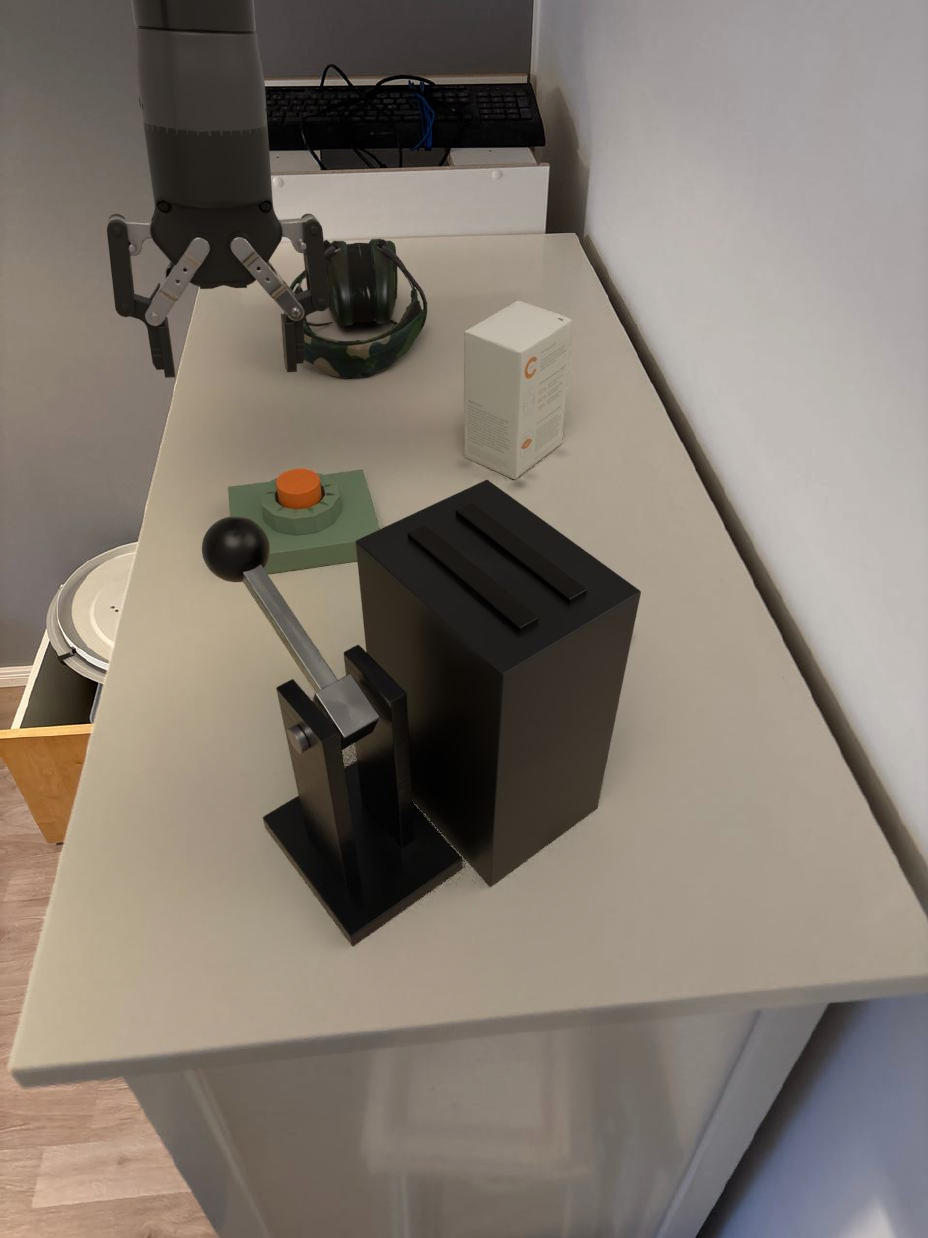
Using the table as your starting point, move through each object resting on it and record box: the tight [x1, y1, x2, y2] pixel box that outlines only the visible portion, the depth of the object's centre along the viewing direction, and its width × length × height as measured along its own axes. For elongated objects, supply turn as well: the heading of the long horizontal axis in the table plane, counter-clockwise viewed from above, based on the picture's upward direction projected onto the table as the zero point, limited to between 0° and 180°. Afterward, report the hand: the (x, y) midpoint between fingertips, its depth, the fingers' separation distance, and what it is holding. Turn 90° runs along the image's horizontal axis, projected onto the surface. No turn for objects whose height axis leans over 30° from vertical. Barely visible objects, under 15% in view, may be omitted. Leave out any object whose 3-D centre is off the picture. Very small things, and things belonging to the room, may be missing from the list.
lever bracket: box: [262, 644, 463, 947], centre depth 50 cm, size 10×8×15 cm
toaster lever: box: [201, 516, 380, 751], centre depth 47 cm, size 14×4×4 cm, turn 39°
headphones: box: [289, 238, 428, 379], centre depth 100 cm, size 13×13×20 cm
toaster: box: [355, 479, 642, 888], centre depth 52 cm, size 12×9×19 cm
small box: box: [463, 300, 574, 480], centre depth 82 cm, size 8×6×13 cm
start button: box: [276, 467, 322, 510], centre depth 74 cm, size 4×4×2 cm
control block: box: [227, 469, 381, 575], centre depth 76 cm, size 12×10×4 cm
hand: (231, 371), depth 65 cm, fingers open, 8 cm apart
